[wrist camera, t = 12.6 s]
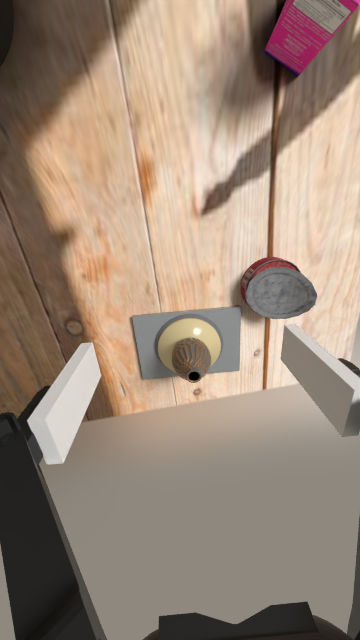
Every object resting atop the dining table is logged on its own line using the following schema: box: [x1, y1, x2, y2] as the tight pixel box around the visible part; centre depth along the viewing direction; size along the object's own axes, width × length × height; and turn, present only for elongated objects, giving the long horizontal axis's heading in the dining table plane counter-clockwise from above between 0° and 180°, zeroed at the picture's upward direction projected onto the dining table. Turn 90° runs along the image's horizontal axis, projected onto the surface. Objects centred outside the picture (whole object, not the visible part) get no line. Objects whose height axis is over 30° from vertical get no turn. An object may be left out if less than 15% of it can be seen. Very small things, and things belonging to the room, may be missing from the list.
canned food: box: [241, 257, 317, 319], centre depth 40 cm, size 11×10×10 cm
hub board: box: [132, 306, 241, 379], centre depth 46 cm, size 14×20×2 cm
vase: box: [172, 337, 211, 383], centre depth 41 cm, size 7×7×9 cm
